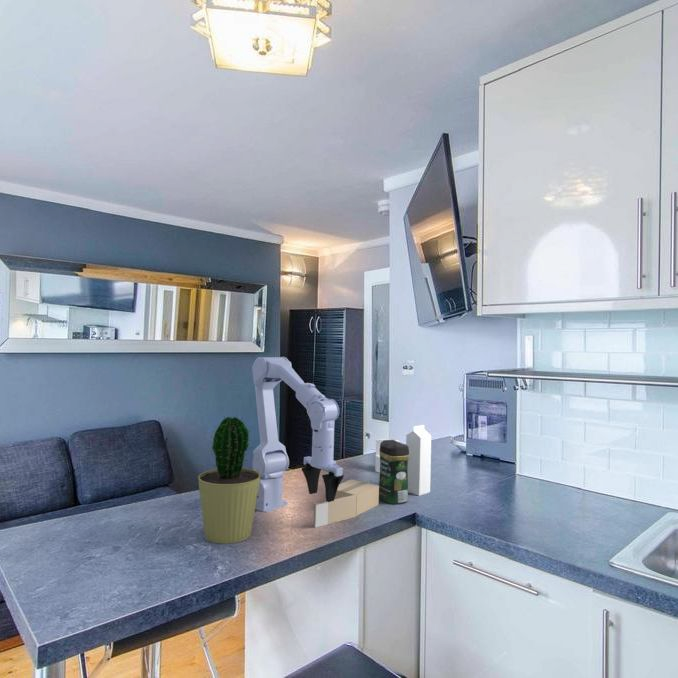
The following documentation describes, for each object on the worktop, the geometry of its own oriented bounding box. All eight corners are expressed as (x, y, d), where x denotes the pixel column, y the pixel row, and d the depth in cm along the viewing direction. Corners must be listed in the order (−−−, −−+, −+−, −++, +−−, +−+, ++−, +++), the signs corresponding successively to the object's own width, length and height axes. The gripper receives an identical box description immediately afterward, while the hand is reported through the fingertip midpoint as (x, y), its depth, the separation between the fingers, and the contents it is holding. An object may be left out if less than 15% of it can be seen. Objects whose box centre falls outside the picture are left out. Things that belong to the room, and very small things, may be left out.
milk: (430, 492, 158) (432, 426, 158) (418, 496, 154) (421, 427, 154) (415, 488, 162) (417, 423, 163) (404, 491, 158) (406, 425, 158)
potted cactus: (195, 550, 110) (199, 420, 110) (196, 525, 125) (199, 410, 125) (262, 544, 114) (266, 419, 114) (255, 520, 129) (258, 410, 129)
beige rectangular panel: (356, 516, 133) (356, 495, 133) (315, 527, 124) (315, 505, 124) (354, 515, 134) (354, 494, 134) (313, 526, 125) (314, 504, 125)
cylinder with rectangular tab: (372, 472, 180) (373, 441, 181) (377, 467, 189) (378, 436, 189) (396, 475, 178) (397, 443, 178) (400, 469, 186) (401, 438, 187)
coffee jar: (374, 497, 152) (375, 438, 152) (395, 494, 155) (397, 437, 155) (389, 507, 143) (391, 445, 143) (412, 503, 146) (413, 443, 146)
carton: (356, 516, 134) (356, 494, 134) (328, 508, 140) (328, 487, 140) (378, 505, 144) (379, 485, 144) (351, 498, 150) (351, 479, 150)
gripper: (352, 449, 123) (350, 501, 123) (318, 439, 134) (317, 487, 134) (330, 452, 119) (329, 507, 118) (297, 442, 130) (296, 491, 130)
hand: (321, 497), depth 126 cm, fingers open, 7 cm apart
